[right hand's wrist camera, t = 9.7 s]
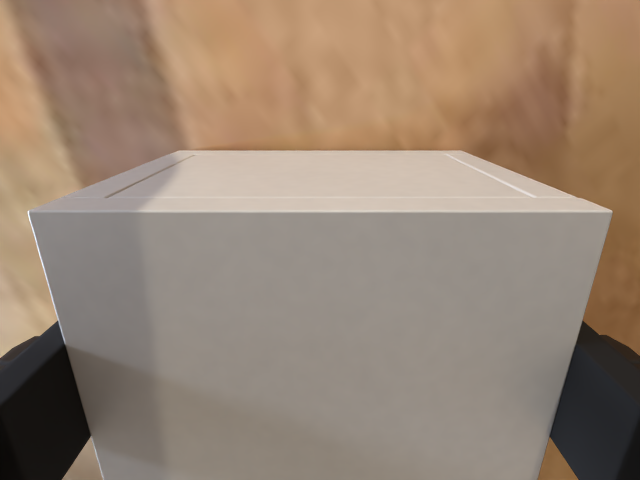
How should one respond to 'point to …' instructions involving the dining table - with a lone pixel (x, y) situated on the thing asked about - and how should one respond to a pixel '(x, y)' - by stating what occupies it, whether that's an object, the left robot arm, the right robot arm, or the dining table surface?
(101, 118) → the dining table surface
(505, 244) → the cabinet
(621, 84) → the dining table surface
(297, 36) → the dining table surface
